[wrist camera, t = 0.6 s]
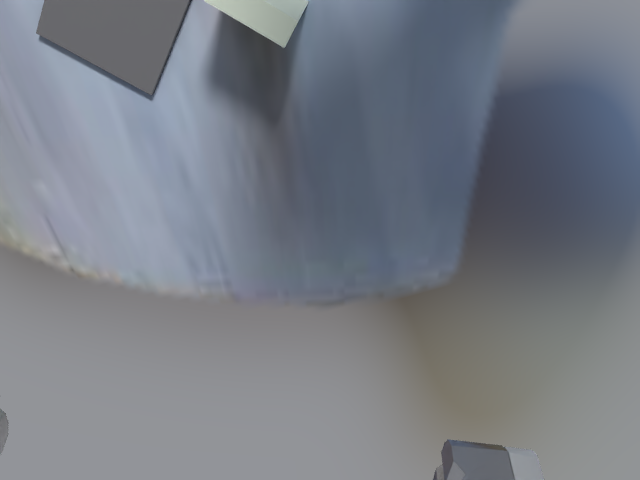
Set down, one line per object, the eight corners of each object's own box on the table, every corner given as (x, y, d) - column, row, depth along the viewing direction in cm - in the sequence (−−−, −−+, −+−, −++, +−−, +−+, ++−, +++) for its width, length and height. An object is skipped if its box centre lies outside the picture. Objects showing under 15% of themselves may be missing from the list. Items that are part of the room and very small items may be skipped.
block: (238, -42, 42) (215, -29, 36) (308, 1, 43) (298, 21, 37) (227, -17, 43) (203, 0, 37) (296, 25, 44) (284, 48, 38)
